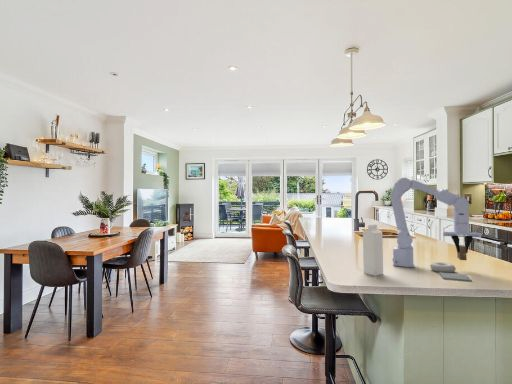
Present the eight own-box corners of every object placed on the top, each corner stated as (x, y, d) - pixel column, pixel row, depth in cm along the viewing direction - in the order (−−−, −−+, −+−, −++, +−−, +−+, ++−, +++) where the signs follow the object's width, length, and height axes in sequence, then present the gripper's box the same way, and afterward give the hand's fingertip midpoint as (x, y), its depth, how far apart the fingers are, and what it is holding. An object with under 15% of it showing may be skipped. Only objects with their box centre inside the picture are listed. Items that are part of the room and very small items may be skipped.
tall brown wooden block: (460, 259, 134) (459, 246, 134) (457, 257, 139) (457, 244, 139) (466, 260, 133) (466, 247, 133) (463, 257, 138) (463, 245, 138)
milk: (383, 274, 131) (382, 225, 132) (374, 276, 128) (373, 225, 129) (372, 271, 137) (371, 224, 137) (363, 273, 134) (362, 224, 134)
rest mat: (442, 278, 122) (442, 277, 122) (439, 273, 132) (439, 271, 132) (471, 281, 118) (471, 280, 118) (465, 275, 127) (465, 274, 127)
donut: (460, 264, 132) (444, 267, 129) (461, 272, 132) (444, 274, 129) (440, 260, 142) (424, 262, 139) (440, 267, 142) (425, 269, 139)
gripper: (444, 223, 135) (445, 252, 135) (483, 224, 129) (484, 255, 128) (441, 222, 141) (442, 250, 141) (478, 222, 135) (479, 252, 135)
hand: (462, 252), depth 135 cm, fingers closed on tall brown wooden block, 2 cm apart
